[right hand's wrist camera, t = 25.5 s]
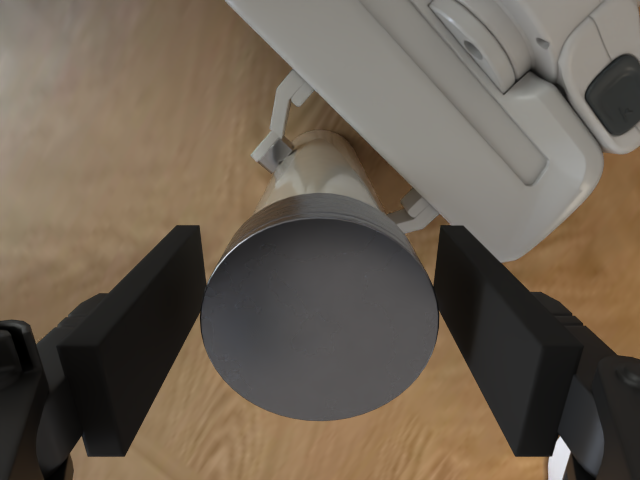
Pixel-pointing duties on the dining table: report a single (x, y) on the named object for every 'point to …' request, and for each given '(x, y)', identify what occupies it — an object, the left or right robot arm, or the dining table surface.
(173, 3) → the dining table surface
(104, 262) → the dining table surface
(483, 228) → the left robot arm
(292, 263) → the lid
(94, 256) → the dining table surface
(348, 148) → the bottle
